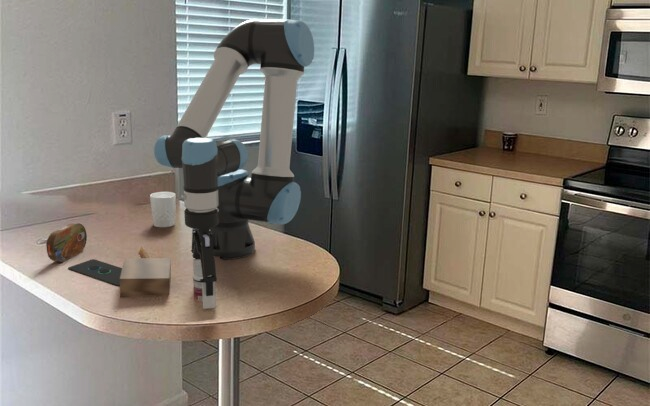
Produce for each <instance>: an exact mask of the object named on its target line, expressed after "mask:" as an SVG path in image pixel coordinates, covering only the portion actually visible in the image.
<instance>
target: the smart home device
mask: <svg viewBox="0 0 650 406" xmlns="http://www.w3.org/2000/svg"><path fill="white" fill-rule="evenodd" d="M67 269H68V270H70V271H73V272H75V273H78V274H81V275H84V276H87V277H90V278H92V279H96V280H98V281H101V282H104V283H107V284H110V285H113V286H117V287H120V276H121V271H122V267H119V266H117V265H113V264H110V263H107V262H104V261H101V260H98V259H94V258H93V259H92V258H91V259H89V260H86V261H83V262H80V263H77V264H74V265H72V266H69V267H68V268H67Z"/></svg>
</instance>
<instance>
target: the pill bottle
mask: <svg viewBox="0 0 650 406" xmlns="http://www.w3.org/2000/svg"><path fill="white" fill-rule="evenodd" d="M207 277H208V276H207ZM200 279H203V275H202V267H201V264H200V265H197V266H195V275H194V274H193V277H192V281H193V297H194V300H195V301H197V302H202V303H203V295H202V283H200Z"/></svg>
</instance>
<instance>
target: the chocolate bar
mask: <svg viewBox="0 0 650 406" xmlns="http://www.w3.org/2000/svg"><path fill="white" fill-rule="evenodd" d="M139 255H140V256H139ZM138 256H139V257H141V258H150V257H149V255H148V253H147V251H146V250H145V249H144V248H143V246H141V248H140V250H138Z"/></svg>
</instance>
